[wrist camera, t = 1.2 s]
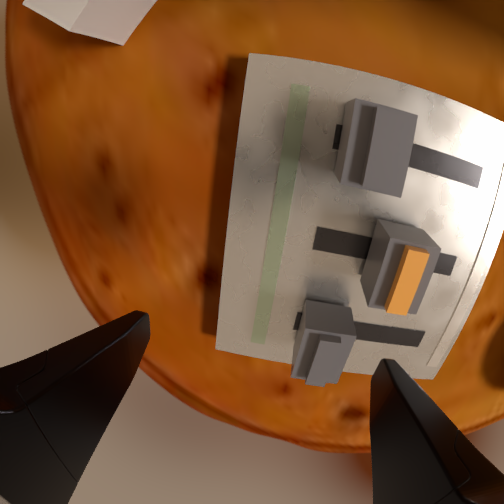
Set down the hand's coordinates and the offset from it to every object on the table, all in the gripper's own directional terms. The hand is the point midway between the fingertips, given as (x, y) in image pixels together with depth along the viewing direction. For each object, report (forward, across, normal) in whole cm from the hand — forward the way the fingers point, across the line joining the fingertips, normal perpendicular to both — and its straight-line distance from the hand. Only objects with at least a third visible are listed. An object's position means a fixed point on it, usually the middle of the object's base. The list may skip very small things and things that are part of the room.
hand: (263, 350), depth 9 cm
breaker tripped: (+10, -7, 0) cm, 12 cm away
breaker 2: (+10, -4, -6) cm, 12 cm away
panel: (+12, -6, 0) cm, 13 cm away
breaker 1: (+10, -4, +6) cm, 12 cm away
